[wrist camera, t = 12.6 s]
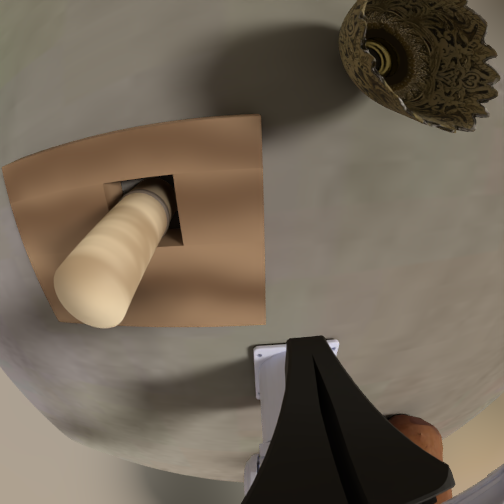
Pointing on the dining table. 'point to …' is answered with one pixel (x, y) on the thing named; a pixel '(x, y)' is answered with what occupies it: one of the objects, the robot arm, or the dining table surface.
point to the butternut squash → (422, 440)
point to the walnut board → (175, 240)
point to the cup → (421, 59)
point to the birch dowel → (115, 255)
